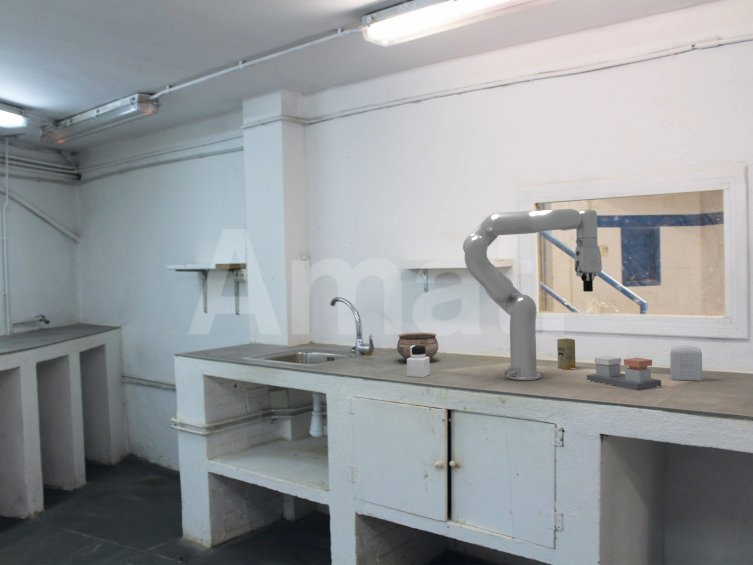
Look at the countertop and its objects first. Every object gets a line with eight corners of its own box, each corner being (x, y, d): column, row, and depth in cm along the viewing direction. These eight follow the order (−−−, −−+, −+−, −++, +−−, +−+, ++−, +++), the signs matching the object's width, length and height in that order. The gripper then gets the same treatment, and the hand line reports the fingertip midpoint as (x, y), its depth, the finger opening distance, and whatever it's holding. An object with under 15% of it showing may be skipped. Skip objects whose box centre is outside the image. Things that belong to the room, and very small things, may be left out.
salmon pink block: (639, 379, 211) (639, 361, 211) (624, 376, 217) (623, 359, 216) (652, 377, 214) (652, 359, 214) (636, 374, 220) (636, 357, 219)
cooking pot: (418, 356, 301) (417, 331, 301) (450, 359, 289) (450, 333, 288) (384, 363, 282) (383, 336, 282) (417, 367, 270) (417, 338, 270)
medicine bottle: (430, 374, 251) (429, 344, 251) (423, 377, 245) (422, 347, 244) (413, 373, 254) (412, 344, 254) (406, 376, 248) (406, 346, 247)
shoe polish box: (568, 367, 257) (567, 338, 257) (575, 369, 253) (574, 339, 252) (557, 368, 256) (557, 339, 256) (565, 370, 251) (564, 340, 251)
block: (637, 390, 208) (636, 372, 208) (586, 380, 228) (586, 364, 228) (661, 385, 214) (661, 368, 214) (610, 376, 234) (609, 360, 233)
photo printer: (701, 379, 224) (700, 344, 224) (703, 381, 220) (702, 346, 219) (669, 378, 227) (669, 344, 227) (671, 380, 223) (670, 346, 223)
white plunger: (608, 376, 222) (608, 359, 222) (595, 374, 228) (594, 357, 228) (621, 374, 225) (621, 358, 225) (607, 372, 231) (607, 356, 231)
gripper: (580, 242, 229) (581, 292, 229) (608, 242, 236) (609, 290, 236) (565, 243, 235) (566, 292, 236) (593, 243, 242) (594, 290, 243)
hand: (588, 291), depth 236 cm, fingers closed
